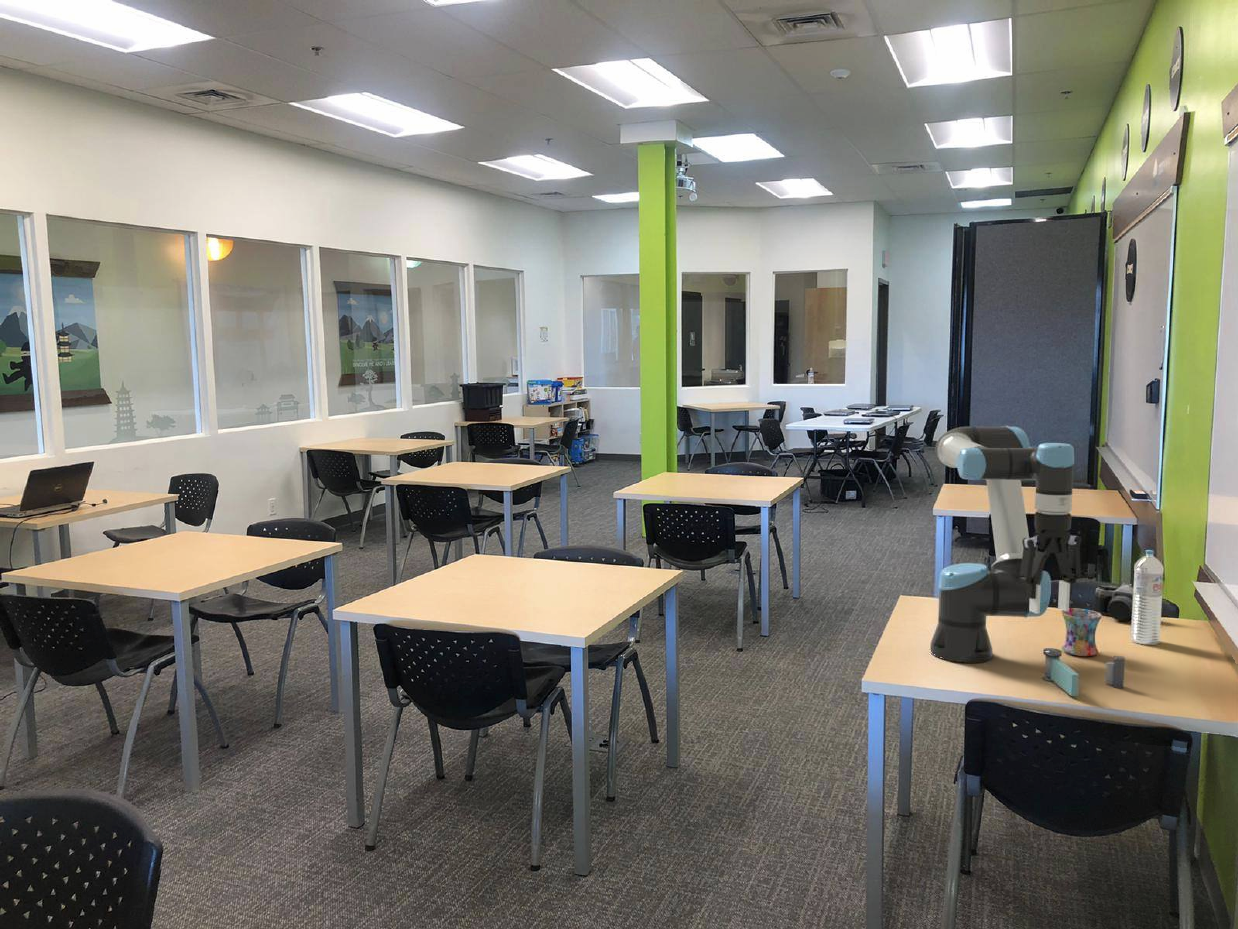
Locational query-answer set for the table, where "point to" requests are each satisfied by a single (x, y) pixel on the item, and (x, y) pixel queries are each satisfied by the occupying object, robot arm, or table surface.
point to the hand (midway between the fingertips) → (1048, 610)
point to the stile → (1115, 672)
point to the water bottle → (1147, 600)
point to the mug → (1080, 631)
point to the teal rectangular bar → (1062, 675)
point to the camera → (1114, 601)
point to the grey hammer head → (1051, 653)
